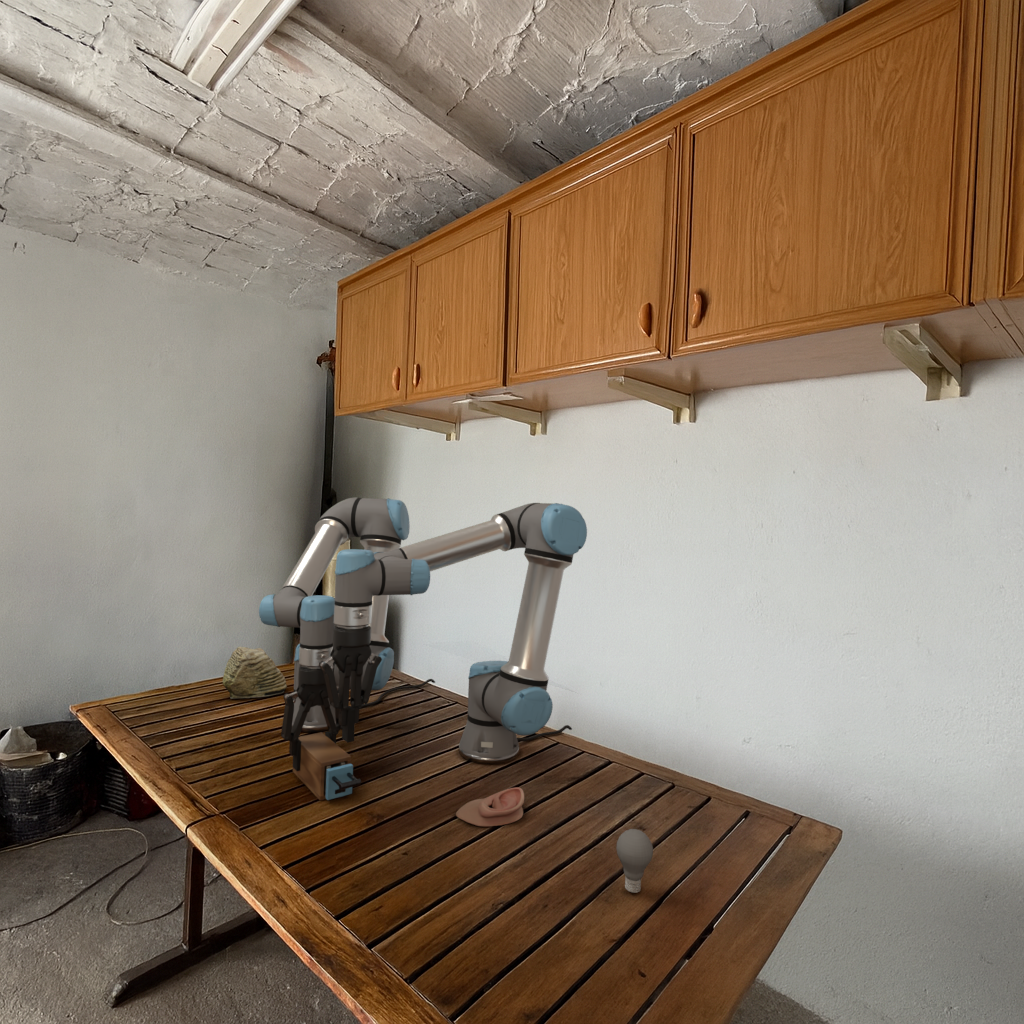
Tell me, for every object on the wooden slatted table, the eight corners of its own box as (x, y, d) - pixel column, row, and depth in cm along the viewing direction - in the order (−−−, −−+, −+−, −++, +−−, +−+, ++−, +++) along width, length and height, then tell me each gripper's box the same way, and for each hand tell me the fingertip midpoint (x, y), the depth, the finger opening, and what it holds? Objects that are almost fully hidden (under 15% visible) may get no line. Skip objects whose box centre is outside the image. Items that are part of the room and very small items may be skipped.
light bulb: (610, 879, 108) (613, 822, 108) (644, 879, 109) (647, 822, 109) (619, 902, 102) (622, 840, 102) (655, 901, 103) (658, 840, 103)
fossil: (218, 695, 195) (220, 647, 195) (278, 685, 208) (279, 640, 207) (228, 703, 189) (230, 653, 188) (289, 692, 201) (290, 645, 201)
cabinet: (349, 792, 136) (351, 756, 136) (319, 800, 132) (321, 763, 132) (320, 765, 149) (321, 732, 149) (292, 771, 145) (293, 737, 145)
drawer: (362, 803, 130) (364, 774, 130) (337, 810, 126) (338, 780, 126) (324, 767, 146) (325, 741, 146) (300, 773, 143) (301, 746, 142)
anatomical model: (451, 802, 125) (467, 778, 136) (451, 822, 125) (466, 796, 136) (517, 812, 122) (528, 786, 134) (516, 832, 123) (527, 804, 134)
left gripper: (278, 674, 135) (274, 781, 135) (363, 663, 147) (359, 761, 148) (267, 666, 141) (263, 768, 141) (349, 655, 153) (346, 750, 153)
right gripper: (328, 631, 122) (324, 752, 123) (389, 625, 130) (385, 739, 131) (314, 624, 128) (310, 740, 129) (373, 619, 136) (369, 728, 137)
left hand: (312, 764), depth 144 cm, fingers closed on cabinet, 7 cm apart
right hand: (348, 739), depth 130 cm, fingers closed
